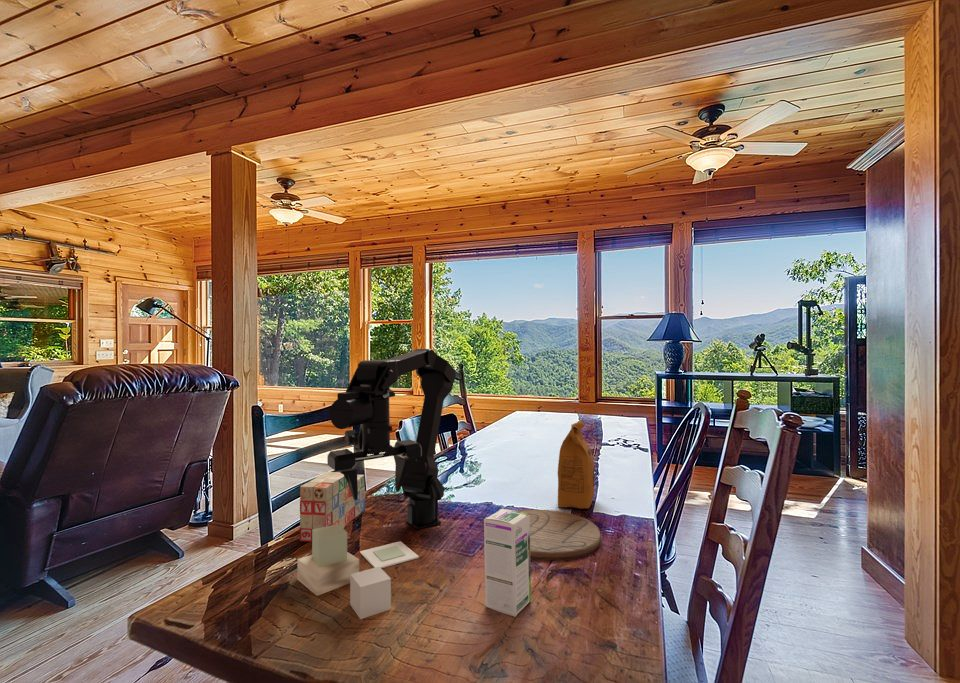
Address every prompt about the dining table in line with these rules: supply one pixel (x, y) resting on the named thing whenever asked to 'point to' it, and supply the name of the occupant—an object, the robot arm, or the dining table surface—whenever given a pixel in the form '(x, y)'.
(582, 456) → the coffee package
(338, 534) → the sage block
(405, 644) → the dining table surface
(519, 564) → the syrup box
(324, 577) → the birch base block
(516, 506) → the dining table surface
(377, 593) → the grey block
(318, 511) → the stack of blocks
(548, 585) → the dining table surface
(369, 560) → the card
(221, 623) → the dining table surface
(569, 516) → the trivet
